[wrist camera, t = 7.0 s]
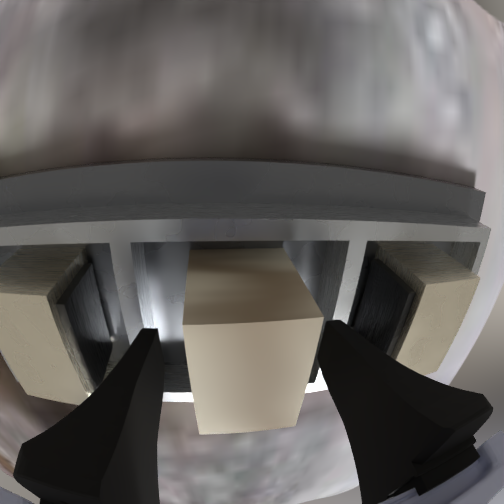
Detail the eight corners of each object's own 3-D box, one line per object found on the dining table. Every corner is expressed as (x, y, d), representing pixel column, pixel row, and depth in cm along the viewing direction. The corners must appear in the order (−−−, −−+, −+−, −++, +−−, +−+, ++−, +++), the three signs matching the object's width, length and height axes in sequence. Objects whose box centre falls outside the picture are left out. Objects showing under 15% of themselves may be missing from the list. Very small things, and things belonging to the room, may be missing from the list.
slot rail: (28, 365, 15) (4, 416, 10) (-30, 184, 9) (-89, 213, 5) (422, 349, 19) (454, 390, 15) (474, 188, 14) (532, 214, 10)
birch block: (197, 354, 14) (199, 434, 10) (189, 249, 12) (182, 325, 8) (272, 350, 15) (295, 425, 11) (283, 248, 13) (323, 317, 8)
